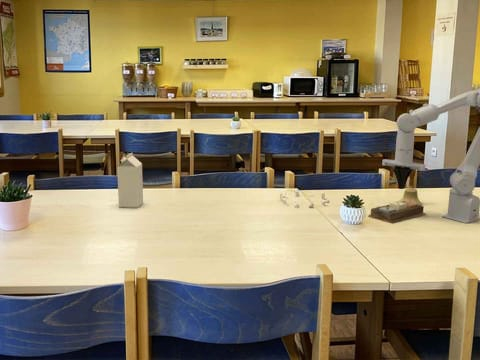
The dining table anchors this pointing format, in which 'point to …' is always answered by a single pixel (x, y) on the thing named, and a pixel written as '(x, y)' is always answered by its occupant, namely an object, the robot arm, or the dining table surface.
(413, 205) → the key one terracotta
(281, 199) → the game piece set
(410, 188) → the hand bell
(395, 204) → the key two cream
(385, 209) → the key three slate
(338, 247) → the dining table surface
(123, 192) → the milk carton
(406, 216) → the wooden tray
